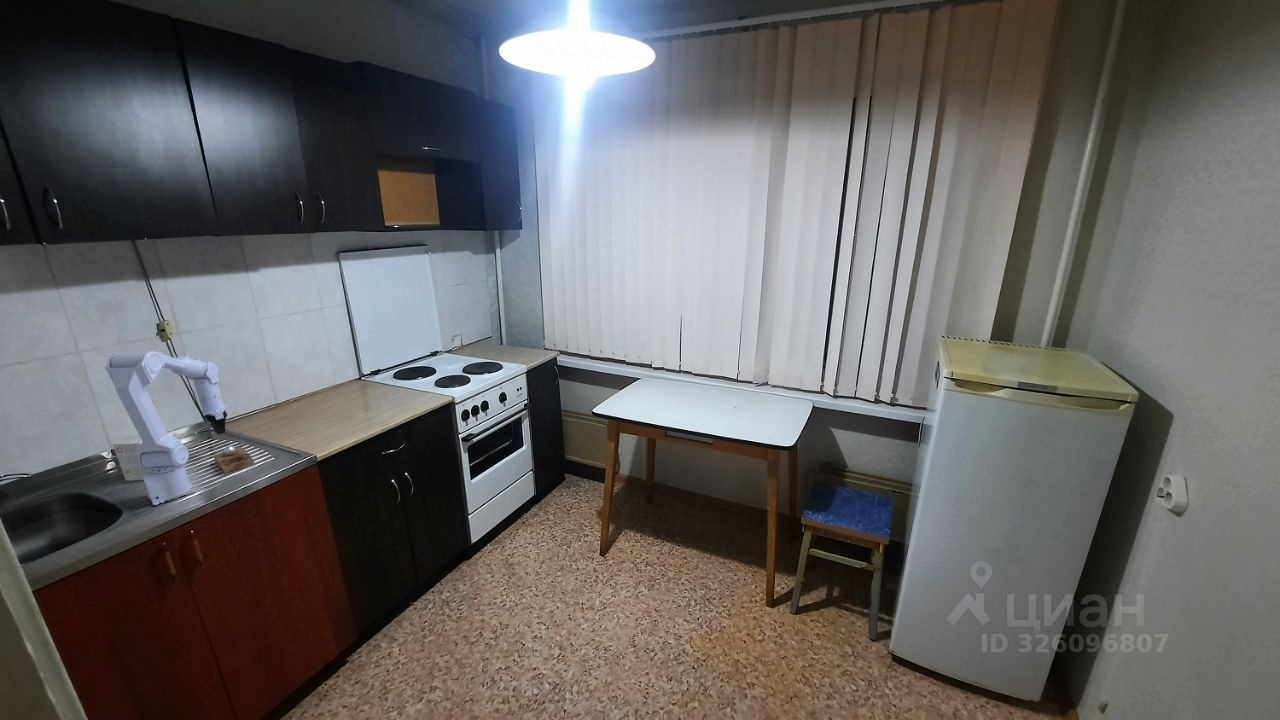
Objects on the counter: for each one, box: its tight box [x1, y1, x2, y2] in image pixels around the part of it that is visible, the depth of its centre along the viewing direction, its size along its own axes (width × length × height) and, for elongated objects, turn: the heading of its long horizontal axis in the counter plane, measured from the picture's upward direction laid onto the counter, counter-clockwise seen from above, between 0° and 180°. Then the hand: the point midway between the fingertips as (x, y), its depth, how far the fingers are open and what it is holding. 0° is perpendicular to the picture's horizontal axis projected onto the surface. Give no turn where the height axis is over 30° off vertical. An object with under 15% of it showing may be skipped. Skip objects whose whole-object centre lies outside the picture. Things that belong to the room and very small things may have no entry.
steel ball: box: [222, 445, 237, 455], centre depth 167 cm, size 3×3×3 cm
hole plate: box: [213, 446, 255, 476], centre depth 166 cm, size 8×13×2 cm, turn 50°
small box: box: [111, 434, 149, 482], centre depth 158 cm, size 8×6×13 cm
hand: (221, 433), depth 170 cm, fingers closed
